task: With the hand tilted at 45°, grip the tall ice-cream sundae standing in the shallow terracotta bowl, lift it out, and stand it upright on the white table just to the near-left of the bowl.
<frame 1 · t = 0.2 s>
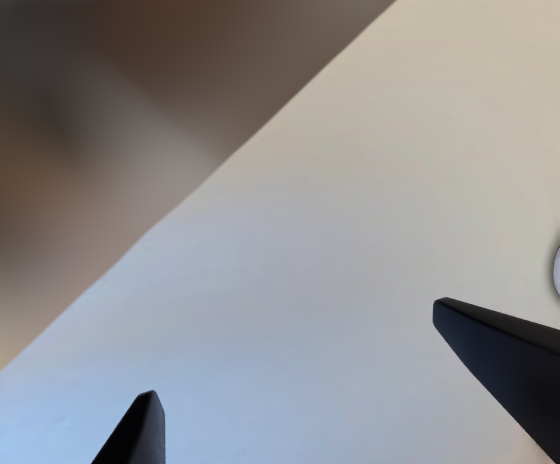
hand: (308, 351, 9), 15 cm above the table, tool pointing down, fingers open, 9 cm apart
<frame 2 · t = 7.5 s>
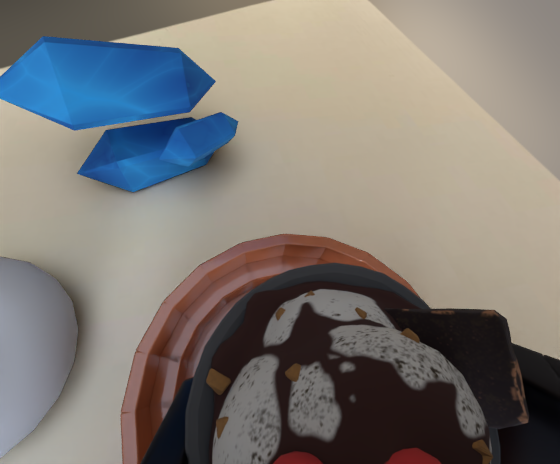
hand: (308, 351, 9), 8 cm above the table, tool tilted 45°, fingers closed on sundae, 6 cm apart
sundae: (292, 386, 16), resting on bowl, touching gripper
crystal: (159, 165, 21), on the table
bowl: (291, 385, 16), on the table
when the fingers open (8 cm above the table, at t = 14.2 s): sundae stays where it is, on the table.
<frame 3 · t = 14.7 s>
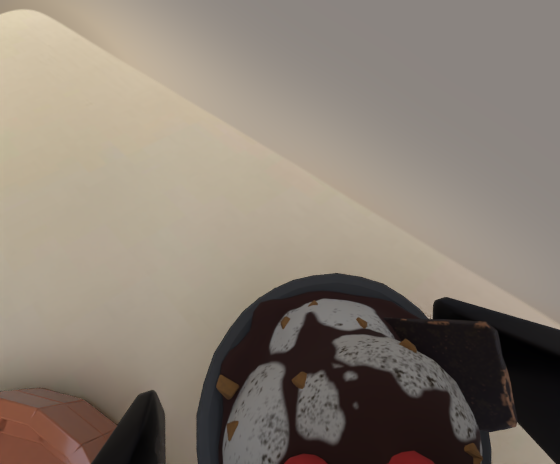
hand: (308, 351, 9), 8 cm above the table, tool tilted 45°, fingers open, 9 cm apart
sundae: (292, 388, 16), on the table
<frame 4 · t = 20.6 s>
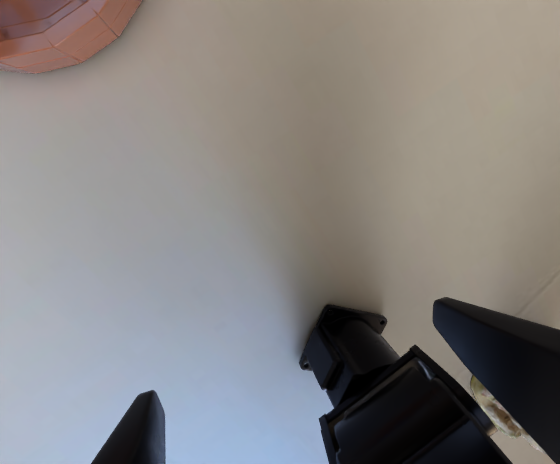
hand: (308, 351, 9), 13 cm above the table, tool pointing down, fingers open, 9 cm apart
ceramic model: (509, 372, 36), on the table
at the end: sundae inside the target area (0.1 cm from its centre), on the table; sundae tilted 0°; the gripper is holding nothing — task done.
